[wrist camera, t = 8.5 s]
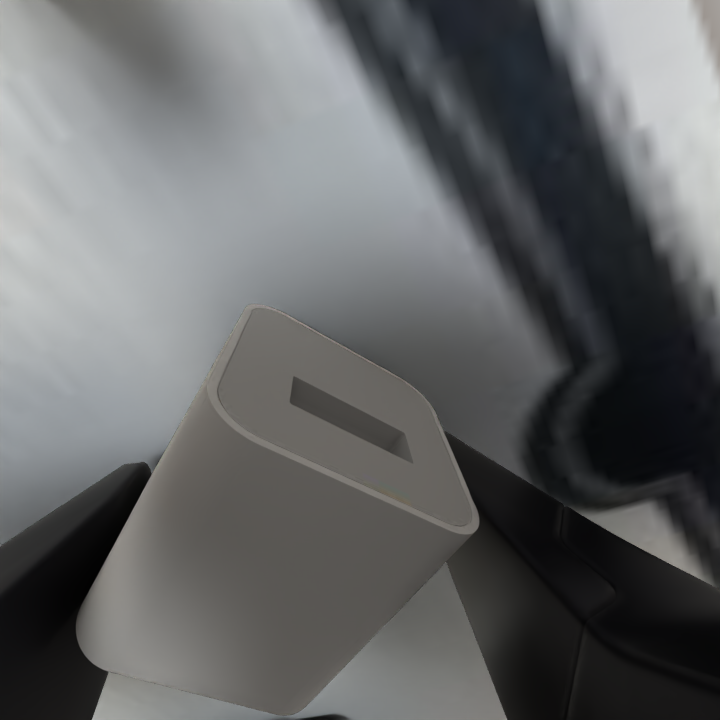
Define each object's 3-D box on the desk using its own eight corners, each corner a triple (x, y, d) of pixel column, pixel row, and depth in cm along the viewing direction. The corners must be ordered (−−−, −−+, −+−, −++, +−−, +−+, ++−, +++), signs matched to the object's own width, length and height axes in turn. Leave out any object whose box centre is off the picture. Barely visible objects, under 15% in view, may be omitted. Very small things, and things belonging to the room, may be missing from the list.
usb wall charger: (426, 392, 9) (494, 551, 5) (268, 593, 11) (242, 799, 8) (251, 294, 8) (191, 413, 4) (114, 540, 10) (-2, 753, 7)
